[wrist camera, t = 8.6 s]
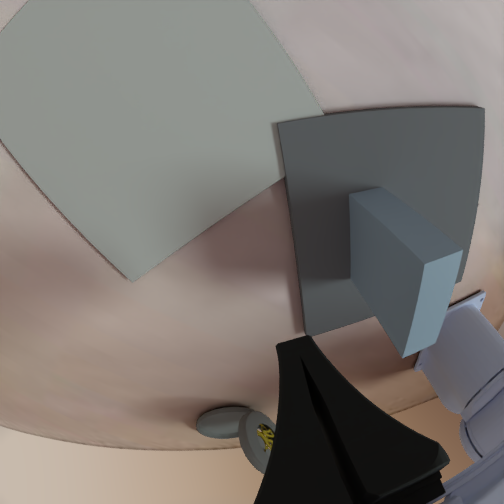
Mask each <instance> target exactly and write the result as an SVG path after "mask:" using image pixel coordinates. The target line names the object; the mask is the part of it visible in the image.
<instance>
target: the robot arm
mask: <svg viewBox="0 0 504 504" xmlns="http://www.w3.org/2000/svg"><path fill="white" fill-rule="evenodd" d="M485 295H486V292H485V291H481V292H479V293H477V294H475V295H473V296H471V297H469V298H467V299H465V300H463V301H461V302H459V303H457V304H455V305H453V306H451V307H449V308H448V309H447V312H446V315H445V318H444V321H443V324H442V327H441V329H440V332H439V335H438V338H437V340H436V343H435V344H433V345H431V346H429V347H426V348H424V349H422V350H421V351H420V353H419V356H418V359H417V362H416V364H415V367H414V371H415V372H417V371H419V370H421V369H422V370H423V372H424V374H425V375H426V377H427V379H428V380H429V382H430V383H431V385H432V387H433V388H434V390H435V392H436V393H437V395H438V397H439V399H440V400H441V402H442V404H443V405H444V406H445V407H446V408H447V409H448V410H450V411H451V412H454V413H457V414H461V416H462V418H463V419H462V420H461V422H460V430H459V435H460V440H461V443H462V446H463V447H464V450H465V451H466V453H467V454H468V456H469V457H470V458H471V459H472V460H473V461H474V462H475V463H474V464H472V465H471V466H470V467H468V468H467V469H465V470H464V471H462V472H461V473H459V474H457V475H456V476H454V477H453V478H451V479H449V480H448V481H446V482H444V483H443V484H442V483H441V480H440V478H442V476H441V473H440V470H441V469H442V468H444V467H445V466H446V465H448V464H449V462H450V459H449V457H448V455H447V453H446V452H445V450H444V449H443V448H442V446H441V445H440V444H439V443H438V442H436V441H434V440H432V439H430V438H427V437H425V436H423V435H421V434H419V433H417V432H416V431H414V430H412V429H410V428H408V427H407V426H405V425H403V424H402V423H400V422H399V421H397V420H396V419H394V418H392V417H391V416H390V415H388V414H387V413H385V412H384V411H382V410H381V409H380V408H378V407H377V406H376V405H374V404H373V403H372V402H371V401H369V400H368V399H367V398H366V397H365V396H364V395H362V394H361V393H360V392H359V391H358V390H357V389H356V388H355V387H354V386H353V385H351V384H350V383H349V382H348V381H347V380H346V379H345V378H344V377H343V376H342V374H341V373H340V372H339V371H338V370H337V369H336V368H335V367H334V366H333V365H332V364H331V362H330V361H329V360H328V359H327V358H326V356H325V355H324V354H323V353H322V351H321V350H320V349H319V347H318V346H317V345H316V343H315V342H314V340H313V339H312V337H311V336H309V335H306V336H303V337H300V338H296V339H293V340H289V341H285V342H282V343H278V344H277V345H276V350H277V355H278V360H279V375H280V378H279V403H278V414H277V421H276V428H275V434H274V439H273V444H272V448H271V453H270V457H269V460H268V464H267V467H266V471H265V474H264V477H263V480H262V483H261V486H260V489H259V491H258V494H257V497H256V499H255V502H254V504H433V503H435V502H436V501H438V500H440V499H442V498H443V497H445V496H446V497H445V500H444V502H442V503H440V504H504V340H503V338H502V337H501V335H500V334H499V333H498V332H497V331H496V329H495V328H494V327H493V326H492V325H491V323H490V322H489V321H488V320H487V319H486V318H485V316H484V315H483V314H482V313H481V312H480V308H481V306H482V303H483V301H484V298H485Z"/></svg>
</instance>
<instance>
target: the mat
mask: <svg viewBox="0 0 504 504" xmlns="http://www.w3.org/2000/svg"><path fill="white" fill-rule="evenodd" d="M277 128H278V134H279V140H280V146H281V152H282V158H283V164H284V170H285V177H284V180H285V186H286V192H287V199H288V205H289V212H290V219H291V226H292V233H293V240H294V248H295V255H296V263H297V270H298V278H299V287H300V295H301V303H302V312H303V321H304V331H305V334H306V335H309V336H311V337H312V336H315V335H318V334H321V333H325V332H328V331H331V330H334V329H337V328H341V327H344V326H347V325H350V324H353V323H356V322H359V321H362V320H364V319H367V318H370V317H373V316H375V315H374V313H373V311H372V310H371V308H370V307H369V305H368V304H367V302H366V301H365V299H364V298H363V296H362V295H361V293H360V292H359V290H358V289H357V288H356V286H355V285H354V283H353V282H352V280H351V279H350V278H351V248H350V210H349V194H351V193H356V192H361V191H365V190H370V189H375V188H379V187H383V188H384V189H386V190H387V191H388V192H390V193H391V194H393V195H394V196H396V197H397V198H398V199H400V200H401V201H402V202H404V203H405V204H407V205H408V206H409V207H411V208H412V209H413V210H415V211H416V212H417V213H419V214H420V215H421V216H423V217H424V218H425V219H426V220H428V221H429V222H430V223H432V224H433V225H434V226H435V227H437V228H438V229H439V230H440V231H442V232H443V233H444V234H445V235H446V236H448V237H449V238H450V239H451V240H452V241H454V242H455V243H456V244H457V245H458V246H459V247H461V248H462V249H463V253H462V258H461V262H460V266H459V270H458V274H457V278H456V281H455V284H456V283H458V282H460V281H461V280H462V276H463V273H464V269H465V265H466V261H467V257H468V253H469V248H470V244H471V239H472V234H473V229H474V224H475V219H476V213H477V207H478V200H479V193H480V185H481V176H482V165H483V152H484V129H485V108H481V107H472V106H414V107H393V108H378V109H366V110H356V111H347V112H338V113H330V114H324V116H317V117H310V118H304V119H297V120H291V121H285V122H280V123H277Z"/></svg>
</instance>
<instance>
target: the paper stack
mask: <svg viewBox="0 0 504 504" xmlns="http://www.w3.org/2000/svg"><path fill="white" fill-rule="evenodd" d="M317 116H324V113H323V111H322V110H321V108H320V106H319V104H318V103H317V101H316V99H315V98H314V96H313V94H312V93H311V91H310V89H309V88H308V86H307V84H306V83H305V81H304V79H303V78H302V76H301V75H300V73H299V71H298V70H297V68H296V67H295V65H294V64H293V62H292V61H291V59H290V57H289V56H288V54H287V53H286V51H285V50H284V49H283V47H282V46H281V44H280V43H279V41H278V40H277V38H276V37H275V35H274V34H273V33H272V31H271V30H270V28H269V27H268V26H267V24H266V23H265V22H264V20H263V19H262V18H261V16H260V15H259V14H258V12H257V11H256V10H255V8H254V7H253V6H252V5H251V3H250V2H249V1H248V0H29V1H28V2H27V3H26V4H25V5H24V6H23V7H22V9H21V10H20V11H19V12H18V13H17V14H16V15H15V16H14V17H13V18H12V20H11V21H10V22H9V23H8V24H7V25H6V27H5V28H4V29H3V30H2V31H1V33H0V139H1V141H2V142H3V143H4V145H5V146H6V147H7V149H8V150H9V151H10V152H11V154H12V155H13V156H14V158H15V159H16V160H17V161H18V163H19V164H20V165H21V166H22V168H23V169H24V170H25V171H26V172H27V174H28V175H29V176H30V177H31V178H32V180H33V181H34V182H35V183H36V184H37V185H38V187H39V188H40V189H41V190H42V191H43V192H44V193H45V195H46V196H47V197H48V198H49V199H50V200H51V201H52V202H53V204H54V205H55V206H56V207H57V208H58V209H59V210H60V211H61V212H62V213H63V214H64V216H65V217H66V218H67V219H68V220H69V221H70V222H71V223H72V224H73V225H74V226H75V227H76V228H77V229H78V230H79V231H80V232H81V233H82V234H83V235H84V236H85V237H86V239H87V240H88V241H89V242H90V243H91V244H92V245H93V246H94V247H95V248H96V249H98V250H99V251H100V252H101V253H102V254H103V255H104V256H105V257H106V258H107V259H108V260H109V261H110V262H111V263H112V264H113V265H114V266H115V267H116V268H117V269H118V270H119V271H120V272H122V273H123V274H124V275H125V276H126V277H127V278H128V279H129V280H130V281H131V282H132V283H133V282H134V281H136V280H137V279H138V278H140V277H141V276H142V275H144V274H145V273H146V272H148V271H149V270H150V269H152V268H153V267H155V266H156V265H157V264H159V263H160V262H161V261H163V260H164V259H165V258H167V257H168V256H170V255H171V254H172V253H174V252H175V251H177V250H178V249H179V248H181V247H182V246H184V245H185V244H186V243H188V242H189V241H191V240H192V239H193V238H195V237H196V236H198V235H199V234H200V233H202V232H203V231H205V230H206V229H208V228H209V227H210V226H212V225H213V224H215V223H216V222H218V221H219V220H221V219H222V218H224V217H225V216H226V215H228V214H229V213H231V212H232V211H234V210H235V209H237V208H238V207H240V206H241V205H243V204H244V203H246V202H247V201H249V200H250V199H251V198H253V197H254V196H256V195H257V194H259V193H260V192H262V191H263V190H265V189H267V188H268V187H270V186H271V185H273V184H274V183H276V182H277V181H279V180H280V179H282V178H283V177H285V170H284V164H283V158H282V152H281V146H280V140H279V134H278V128H277V123H280V122H285V121H291V120H297V119H304V118H310V117H317Z"/></svg>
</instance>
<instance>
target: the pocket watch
mask: <svg viewBox="0 0 504 504" xmlns="http://www.w3.org/2000/svg"><path fill="white" fill-rule="evenodd" d="M196 428H197V430H198V432H199V433H200V434H202V435H204V436H207V437H211V438H218V439H229V438H236V437H239V440H240V444H241V447H242V449H243V451H244V453H245V456H246V457H247V459H248V460H249V461H250V463H251V464H252V465H253V466H254V467H255V468H256V469H257V470H258V471H260V472H261V473H263V474H265V471H266V467H267V464H268V460H269V457H270V453H271V450H270V449H271V448H272V444H273V439H274V434H275V428H276V425H275V424H274V423H273V422H272V421H271V420H270V418H269V417H267V416H266V415H265V414H263V413H261V412H258V411H254V410H252V409H249V408H244V407H225V408H220V409H215V410H212V411H210V412H207V413H205V414H203V415H202V416H201V417H200V418H199V419H198V420H197V423H196ZM257 429H260V430H261V431H262V432H259V431H258V430H257ZM258 432H259V433H258ZM257 434H258V436H257ZM264 435H266V437H265V436H264ZM266 438H267V439H266ZM265 444H267V446H268V447H270V449H269V448H268V447H267V446H266V445H265ZM270 444H271V446H270Z"/></svg>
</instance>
